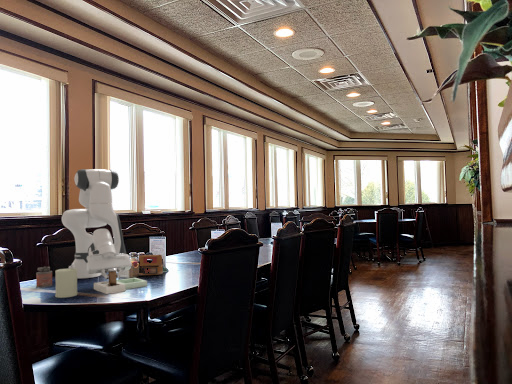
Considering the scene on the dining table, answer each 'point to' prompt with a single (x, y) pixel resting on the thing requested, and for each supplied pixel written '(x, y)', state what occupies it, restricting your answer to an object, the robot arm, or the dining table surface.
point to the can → (66, 282)
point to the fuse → (112, 276)
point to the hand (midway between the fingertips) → (112, 277)
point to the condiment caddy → (151, 264)
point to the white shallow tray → (109, 287)
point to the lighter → (44, 277)
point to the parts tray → (133, 283)
